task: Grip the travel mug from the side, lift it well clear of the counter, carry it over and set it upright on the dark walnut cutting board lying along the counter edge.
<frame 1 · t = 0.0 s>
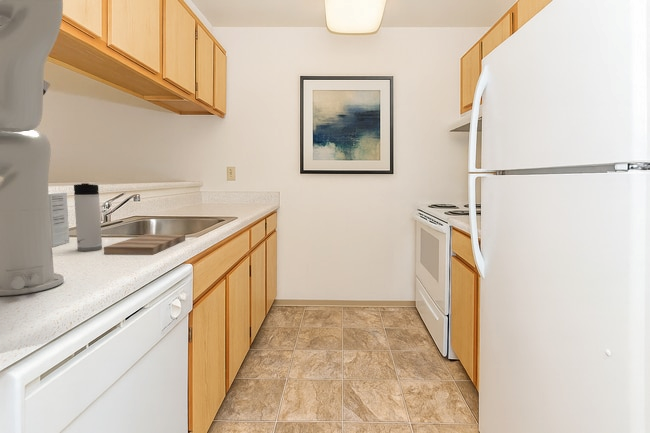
hand: (7, 113, 88), 37 cm above the worktop, tool pointing down, fingers open, 9 cm apart
travel mug: (90, 250, 113), on the worktop
supplement box: (46, 245, 120), on the worktop
walnut board: (148, 246, 118), on the worktop
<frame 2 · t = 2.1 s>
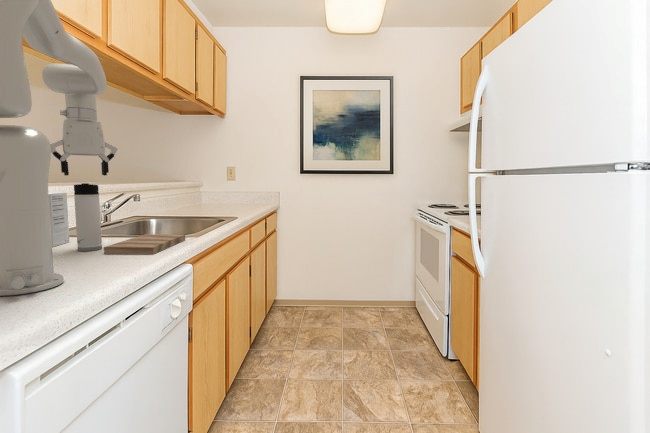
hand: (86, 175, 111), 22 cm above the worktop, tool pointing down, fingers open, 9 cm apart
nothing on the worktop moved.
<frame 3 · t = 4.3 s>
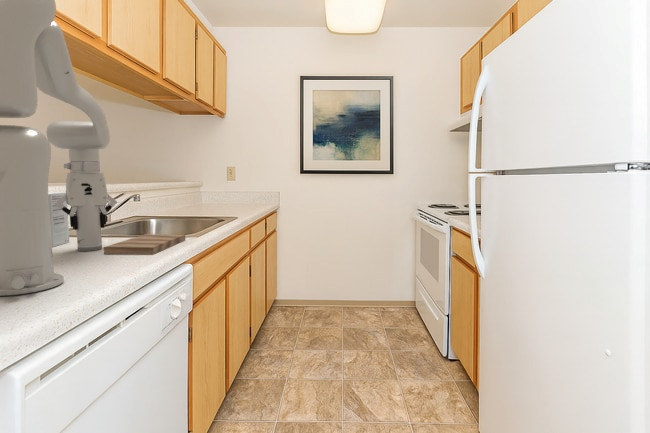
hand: (88, 227, 112), 7 cm above the worktop, tool pointing down, fingers closed on travel mug, 6 cm apart
travel mug: (90, 250, 113), on the worktop, touching gripper
everything else where it was.
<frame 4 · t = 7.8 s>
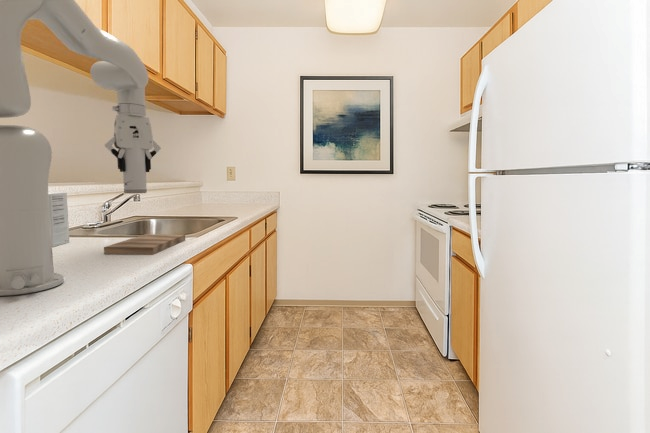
hand: (134, 171, 114), 24 cm above the worktop, tool pointing down, fingers closed on travel mug, 6 cm apart
travel mug: (135, 193, 115), point 17 cm above the worktop, touching gripper
everything else where it was.
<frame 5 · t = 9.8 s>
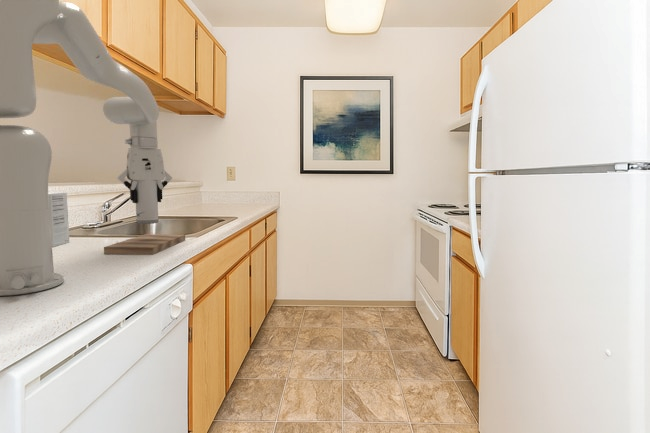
hand: (146, 201, 117), 14 cm above the worktop, tool pointing down, fingers closed on travel mug, 6 cm apart
travel mug: (147, 223, 117), point 7 cm above the worktop, touching gripper
everything else where it was.
when the fingers open (9 cm above the worktop, at t = 11.6 s): travel mug stays where it is, resting on walnut board.
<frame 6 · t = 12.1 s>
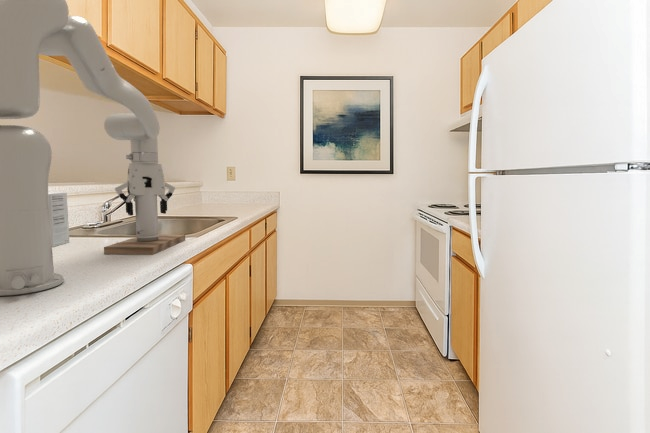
hand: (147, 214, 117), 10 cm above the worktop, tool pointing down, fingers open, 9 cm apart
travel mug: (147, 240, 117), point 2 cm above the worktop, touching walnut board
everything else where it was.
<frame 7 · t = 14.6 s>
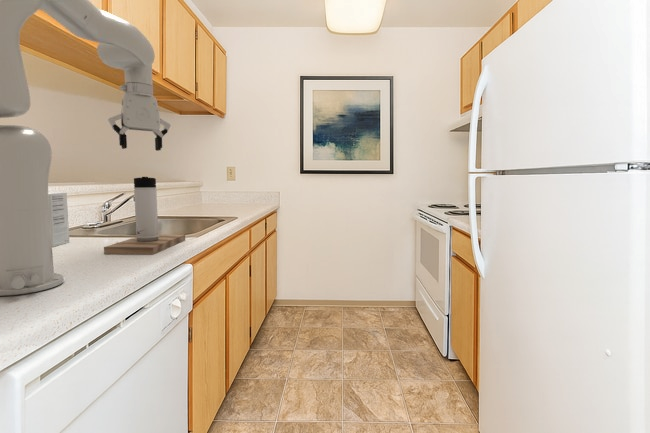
hand: (141, 149, 114), 30 cm above the worktop, tool pointing down, fingers open, 9 cm apart
nothing on the worktop moved.
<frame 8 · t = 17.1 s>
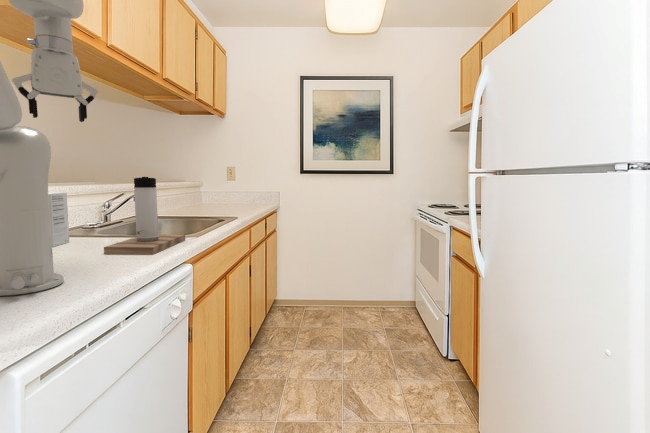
hand: (59, 119, 94), 36 cm above the worktop, tool pointing down, fingers open, 9 cm apart
nothing on the worktop moved.
at the end: travel mug inside the target area on the walnut board (0.3 cm from its centre), point 1.8 cm above the walnut board's base; travel mug tilted 0°; the gripper is holding nothing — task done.
